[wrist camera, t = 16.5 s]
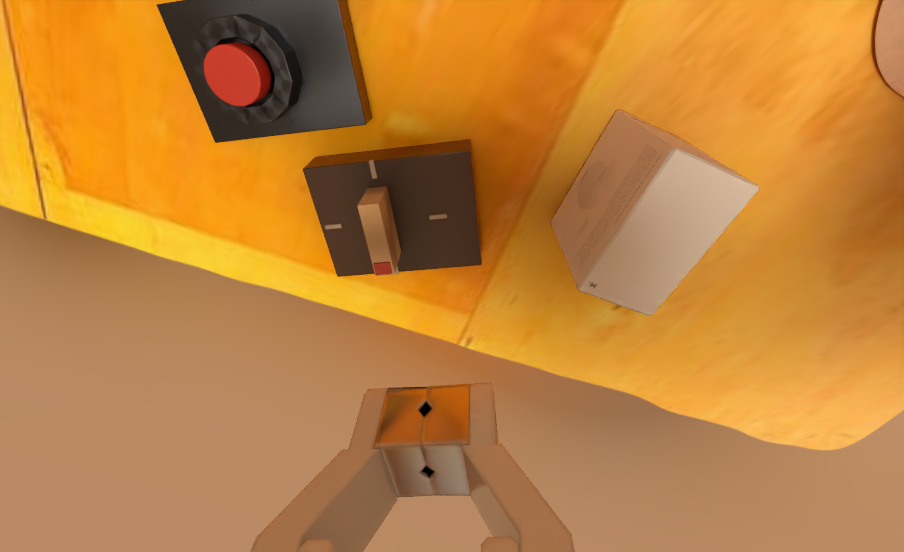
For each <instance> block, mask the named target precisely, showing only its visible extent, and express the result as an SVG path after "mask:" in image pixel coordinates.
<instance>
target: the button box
mask: <svg viewBox="0 0 904 552" xmlns="http://www.w3.org/2000/svg"><path fill="white" fill-rule="evenodd" d="M157 7H158V9H159V11H160V14H161V16H162V18H163V21H164V23H165V26H166V28H167V30H168V33H169V35H170V37H171V40H172V42H173V44H174V47H175V49H176V51H177V54H178V56H179V58H180V61H181V63H182V65H183V68H184V70H185V72H186V75H187V77H188V80H189V82H190V84H191V87H192V89H193V91H194V94H195V96H196V98H197V101H198V103H199V105H200V108H201V110H202V112H203V115H204V117H205V119H206V122H207V124H208V127H209V129H210V131H211V134H212V136H213V138H214V141H215V143H217V142H226V141H234V140H242V139H251V138H259V137H267V136H275V135H284V134H292V133H300V132H308V131H317V130H325V129H333V128H341V127H350V126H358V125H366V124H367V123H368V122H369V120H370V119H371V118H372V116H371V111H370V107H369V102H368V97H367V93H366V88H365V84H364V79H363V74H362V70H361V65H360V61H359V56H358V52H357V47H356V42H355V38H354V33H353V29H352V24H351V19H350V15H349V10H348V6H347V1H346V0H182V1H176V2H170V3H164V4H158V5H157ZM235 42H238V43H244V44H247V45H249V46H251V47H252V48H254V49H255V50H256V51H258V52H259V53H260V54H261V55H262V57H263V58H264V59H265V61H266V63H267V65H268V67H269V69H270V73H271V86H270V90H269V92H268V94H267V95H266V96H265V97H264V98H263V99H261V100H259V101H257V102H254V103H252V104H250V105H247V106H234V105H231V104H229V103H227V102H225V101H223V100H222V99H220V98H219V97H218V96H217V95H216V94H215V93H214V92H213V91H212V89H211V88H210V86H209V84H208V82H207V80H206V77H205V74H204V60H205V57H206V55H207V53H208V52H209V51H210V50H211V49H212V48H213V47H215V46H217V45H221V44H228V43H235Z"/></svg>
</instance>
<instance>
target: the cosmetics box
mask: <svg viewBox="0 0 904 552" xmlns="http://www.w3.org/2000/svg"><path fill="white" fill-rule="evenodd" d="M759 189H760V187H759V186H758V185H756V184H755V183H753V182H751V181H750V180H748V179H746V178H745V177H743V176H741V175H740V174H738V173H736V172H735V171H733V170H732V169H730V168H728V167H727V166H725V165H723V164H722V163H720V162H719V161H717V160H715V159H714V158H712V157H710V156H709V155H707V154H706V153H704V152H702V151H701V150H699V149H697V148H696V147H694V146H693V145H691V144H689V143H688V142H686V141H684V140H683V139H681V138H679V137H677V136H675V135H673V134H670V133H668V132H666V131H663V130H661V129H659V128H657V127H655V126H653V125H651V124H649V123H646V122H644V121H642V120H640V119H638V118H636V117H634V116H632V115H630V114H628V113H626V112H624V111H622V110H617V111H616V112H615V113H614V115H613V117H612V118H611V120H610V122H609V123H608V125H607V127H606V128H605V130H604V132H603V133H602V135H601V137H600V139H599V140H598V142H597V144H596V145H595V147H594V149H593V150H592V152H591V154H590V156H589V157H588V159H587V161H586V162H585V164H584V166H583V167H582V169H581V171H580V173H579V174H578V176H577V178H576V179H575V181H574V183H573V185H572V186H571V188H570V190H569V191H568V193H567V195H566V197H565V198H564V200H563V202H562V204H561V205H560V207H559V209H558V211H557V212H556V214H555V216H554V217H553V219H552V221H551V225H552V228H553V230H554V232H555V234H556V236H557V239H558V241H559V243H560V246H561V248H562V251H563V253H564V255H565V258H566V260H567V263H568V266H569V268H570V271H571V273H572V276H573V278H574V281H575V284H576V286H577V289H578V290H579V291H581V292H584V293H586V294H589V295H592V296H595V297H598V298H600V299H603V300H606V301H609V302H611V303H614V304H617V305H620V306H622V307H625V308H628V309H630V310H633V311H636V312H639V313H642V314H645V315H648V316H652V315H653V314H654V313H655V312H656V310H657V309H658V308H659V307H660V306H661V304H662V303H663V302H664V301H665V300H666V299H667V297H668V296H669V295H670V294H671V293H672V292H673V290H674V289H675V288H676V287H677V286H678V284H679V283H680V282H681V281H682V280H683V279H684V277H685V276H686V275H687V274H688V273H689V271H690V270H691V269H692V268H693V267H694V266H695V264H696V263H697V262H698V261H699V260H700V258H701V257H702V256H703V255H704V254H705V253H706V252H707V250H708V249H709V248H710V247H711V246H712V245H713V243H714V242H715V241H716V240H717V239H718V237H719V236H720V235H721V234H722V233H723V232H724V230H725V229H726V228H727V227H728V226H729V224H730V223H731V222H732V221H733V220H734V219H735V217H736V216H737V215H738V214H739V213H740V211H741V210H742V209H743V208H744V207H745V206H746V204H747V203H748V202H749V201H750V200H751V199H752V197H753V196H754V195H755V194H756V193H757V192H758V191H759Z"/></svg>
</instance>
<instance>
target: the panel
mask: <svg viewBox="0 0 904 552" xmlns="http://www.w3.org/2000/svg"><path fill="white" fill-rule="evenodd" d="M303 172H304V175H305V178H306V181H307V184H308V187H309V190H310V193H311V196H312V199H313V202H314V205H315V208H316V212H317V215H318V218H319V221H320V224H321V227H322V230H323V233H324V236H325V239H326V242H327V245H328V248H329V252H330V255H331V258H332V261H333V264H334V267H335V270H336V273H337V276H338V277H340V276H352V275H364V274H375V273H374V269H373V265H372V261H371V257H370V253H369V249H368V246H367V242H366V238H365V234H364V230H363V226H362V222H361V218H360V214H359V211H358V207H357V205H358V204H359V202H360V200H361V198H362V197H363V195H364V193H365V192H366V190H367V188H371V187H381V186H387V187H388V192H389V197H390V201H391V206H392V211H393V216H394V220H395V225H396V230H397V235H398V239H399V244H400V249H401V254H400V257H399V261H398V264H397V268H396V271H395V274H399V272H401V271H413V270H425V269H438V268H450V267H462V266H474V265H481V264H482V259H481V241H480V231H479V221H478V210H477V200H476V190H475V180H474V170H473V160H472V150H471V141H470V140H463V141H454V142H445V143H436V144H428V145H419V146H410V147H401V148H392V149H384V150H375V151H366V152H357V153H349V154H340V155H331V156H322V157H315V158H314V159H313V160H312V161H311V162H310V163H309V164H308V165H307V166H305V167H304V168H303Z"/></svg>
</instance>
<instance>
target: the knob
mask: <svg viewBox="0 0 904 552" xmlns="http://www.w3.org/2000/svg"><path fill="white" fill-rule="evenodd" d="M357 207H358V211H359V214H360V218H361V222H362V226H363V230H364V234H365V238H366V242H367V246H368V249H369V253H370V257H371V261H372V265H373V269H374V273H375V275H388V274H395V271H396V268H397V264H398V261H399V257H400V254H401V249H400V244H399V239H398V235H397V230H396V225H395V220H394V216H393V211H392V206H391V201H390V197H389V192H388V187H387V186H381V187H371V188H367V190H366V192H365V193H364V195H363V197H362V198H361V200H360V202H359V204H358V205H357Z"/></svg>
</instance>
